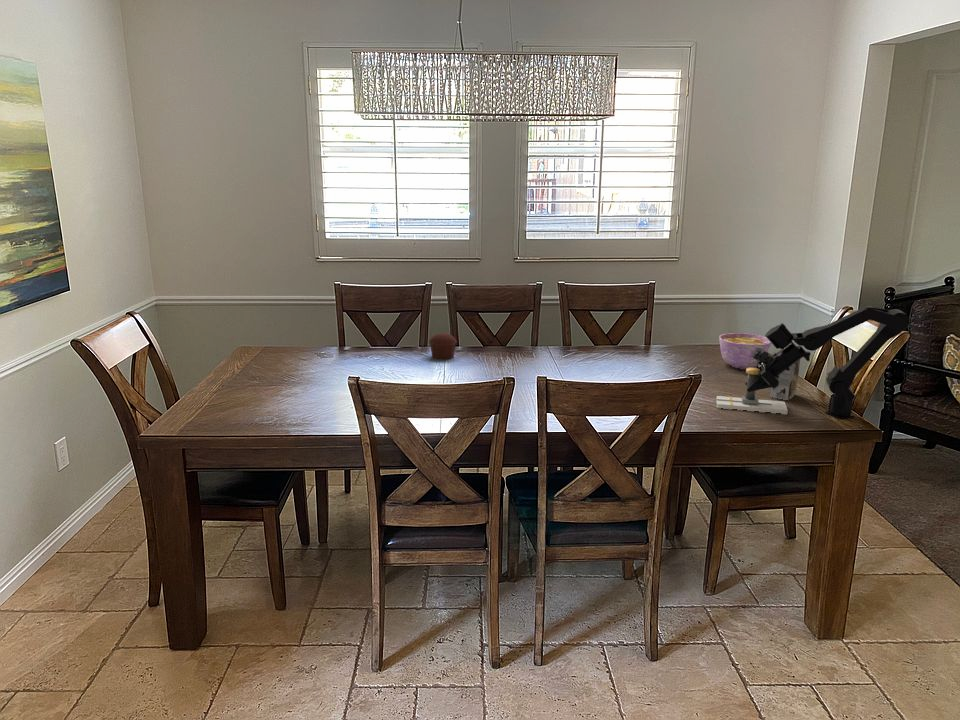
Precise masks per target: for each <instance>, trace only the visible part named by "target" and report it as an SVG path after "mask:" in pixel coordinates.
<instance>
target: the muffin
mask: <svg viewBox="0 0 960 720" xmlns="http://www.w3.org/2000/svg"><path fill="white" fill-rule="evenodd" d="M428 343H429V345H430V350H431V356H432V358H433V360H434V359H435V360H445V361H446V360H451V359H452V358H454V355H455V350H456V345H457V343H458V341H457V339H456V337H454V336H453V335H452V334H450V333H447V332H438V333H435V334H434V335H432V336H431V338H430V339H429V341H428Z"/></svg>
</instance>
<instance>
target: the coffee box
mask: <svg viewBox="0 0 960 720" xmlns="http://www.w3.org/2000/svg"><path fill="white" fill-rule="evenodd" d="M782 350H783V349H780V350H779V351H777V352H776V353H777V354H778V353H779V352H781V351H782ZM800 363H801V359H800V360H799V361H797V362H796V363H795V364H793V365H792V366H791V367H789V368H790V369H789V370H788V371H787V370H785V371H784V372H782V373H781V374H780V375H779V378H778V380H779V386H777V387H776V388H775V389H773V388H772V387H771V388H770V389H771V390H770V395H769V396H770V398H772V397H773V399H777V398H778V399H777V400H781V399H783V400H782V401H786V400H788V401H790V400H791V399H792V398H794V395H795V396H796V394H797V387H798V381H799V379H798V378H799V372H800V371H799V370H800V365H801V364H800ZM789 399H790V400H789Z"/></svg>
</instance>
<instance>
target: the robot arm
mask: <svg viewBox="0 0 960 720" xmlns="http://www.w3.org/2000/svg"><path fill="white" fill-rule="evenodd" d="M868 321H873V322H876V323H878V326H877V329H876V331H875V332H874V333H873V334H872V335H871V336H870V337H869V338H868V340H867V341H866V342H865V343H863V345H862V346H861V347H860V348H859V349H858V350H857V351H856V352H855V354H854V355H852V357H851V358H850V359H849V360H847V362H846V363H845V364H844V365H842V366H840V367H839V366H838V365H834V367H833V368H832V369H831V371H830V372H828V373H826V374H827V377H826V379H825V383H826V385H827V387H828V389H829V391H830V392H831V393H832V394H830V398H829V403H828V409H827V410H825V411H824V413H825V414H827V415H830V416H831V417H834V418H837V419H846V418H847V419H849V418H855V414H854V413H853V414H852V410H853V402H854V400H855V398H856V395H855V393H854V392H853V390H852V389H851V386H852V385H853V382H854V380H855V378H856V376H857V374H858V373H859V372H860V371H861V369H863V368H864V367H865V366H866V364H867V363H868V362H869V361H870V360H871V359H872V358H873V357H874V356H875V355H876V354H877V353H878V352H879V351H880V349H881V348H882V347H883V346H884V345H885V344H886V343H887V342H888V341H889V340H891V339H893V338H895V337H896V336H899V334H901V333H902V332H904V331H905V330H906V329H907V328H908V327H909V326H910V324H911V321H910V318H909V315H908V314H907V313H905V312H904V311H902V310H900V309H897V308H894V309H886V308H880V307H875V306H871V305H863V306H862V307H861V308H859V309H857V310H855V311H853V312H851V313H849V314H847V315H844V316H842V317H841V318H838V319H837V320H835V321H832V322H830V323H828V324H825V325H820V326H816V327H812V328H810V329H806V330H804V331H803V332H795V333H794V332H791V331H790V330H789V329H788V328H787V327H786V325H785V324H784V322H781V323H780V324H779V325H776V326H774V327H772V328H770V329H769V330H768V331H767V332H766V334H765V335H764V337H766V338H767V339H768V340H769V341H770V342H771V345H773V347H775V348H776V349H777V350H778V349H780V350H782V349H783V350H782V351H781V352H779V351H778V352H779V353H778V354H777V352H774V353H770V352H769V351H768V352H766V351H765V350H762V349H760V348H758V347H757V348H756V349H755V351H754V352H753V354H752V356H753V358H754V359H756V360H757V363H758V364H759V365H757V364H756V367H755V368H758V369H760V372H758V375H757V379H756V380H755V381H754V382H753V383H752V384H751V385H750V386H749V387H748V388H747V381H746V382H745V386H746V388H747V391H748V392H751V391H756V392H757V391H759V390H763V389H769V388H770V389H771V387H772V388H773V389H775V388H776V387H777V386H779V380H778V378H779V375H780V374H781V373H782V372H784V371H785V370H787V371H788V370H789V369H790V368H789V367H791V366H792V365H793V364H795V363H796V362H797V361H799V360H800V361H801V359H803V358H804V359H805V360H806V361H807V362H810V361H811V360H810V357H811V352H813V351H817V350H819V349H820V348H822V347H823V346H825V345H826V344H827V343H828V342H830V341H831V339H832V338H834V337H836V336H839V335H841V334H843V333H845V332H847V331H849V330H851V329H853V328H855V327H857V326H859V325H861V324H864V323H866V322H868ZM805 349H806V350H807V351H806V350H805ZM810 351H811V352H810Z"/></svg>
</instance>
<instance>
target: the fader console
mask: <svg viewBox="0 0 960 720" xmlns="http://www.w3.org/2000/svg"><path fill="white" fill-rule="evenodd" d="M715 401H716V409H721V408H723V410H724V409H725V410H732V409H737V410H736V411H743V410H747V411H746V412H754V411H759V412H758V413H765V412H771V413H770V414H776V413H781V414H780V415H788V407H787V404H786V402H785V401H780V400H770V399H758V404H748V403H742V397H734V396H724V395H717V396H716V398H715Z"/></svg>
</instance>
